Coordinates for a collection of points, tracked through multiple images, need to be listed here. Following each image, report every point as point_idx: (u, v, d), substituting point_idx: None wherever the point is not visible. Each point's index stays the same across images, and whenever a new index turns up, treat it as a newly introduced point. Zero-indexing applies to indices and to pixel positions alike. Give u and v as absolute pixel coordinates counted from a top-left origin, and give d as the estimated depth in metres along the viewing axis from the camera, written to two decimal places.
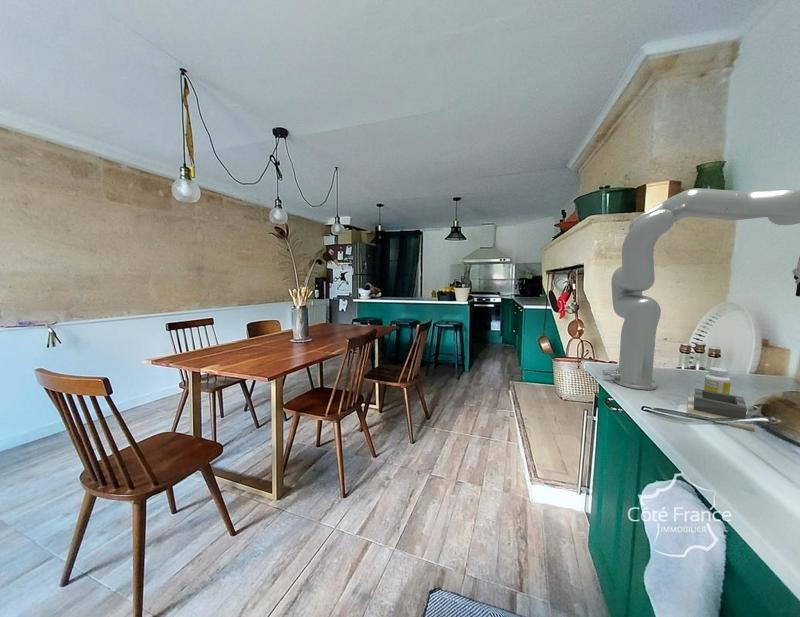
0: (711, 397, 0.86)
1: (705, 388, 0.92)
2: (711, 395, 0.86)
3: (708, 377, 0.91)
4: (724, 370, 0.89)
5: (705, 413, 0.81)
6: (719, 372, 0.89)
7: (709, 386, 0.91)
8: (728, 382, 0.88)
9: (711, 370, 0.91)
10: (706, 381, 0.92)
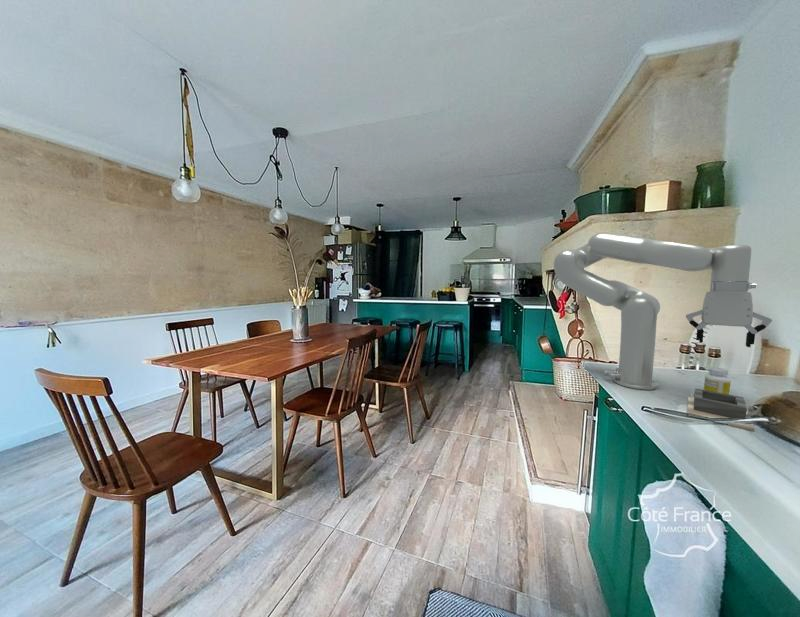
0: (711, 397, 0.86)
1: (705, 388, 0.92)
2: (711, 395, 0.86)
3: (708, 377, 0.91)
4: (724, 370, 0.89)
5: (705, 413, 0.81)
6: (719, 372, 0.89)
7: (709, 386, 0.91)
8: (728, 382, 0.88)
9: (711, 370, 0.91)
10: (706, 381, 0.92)
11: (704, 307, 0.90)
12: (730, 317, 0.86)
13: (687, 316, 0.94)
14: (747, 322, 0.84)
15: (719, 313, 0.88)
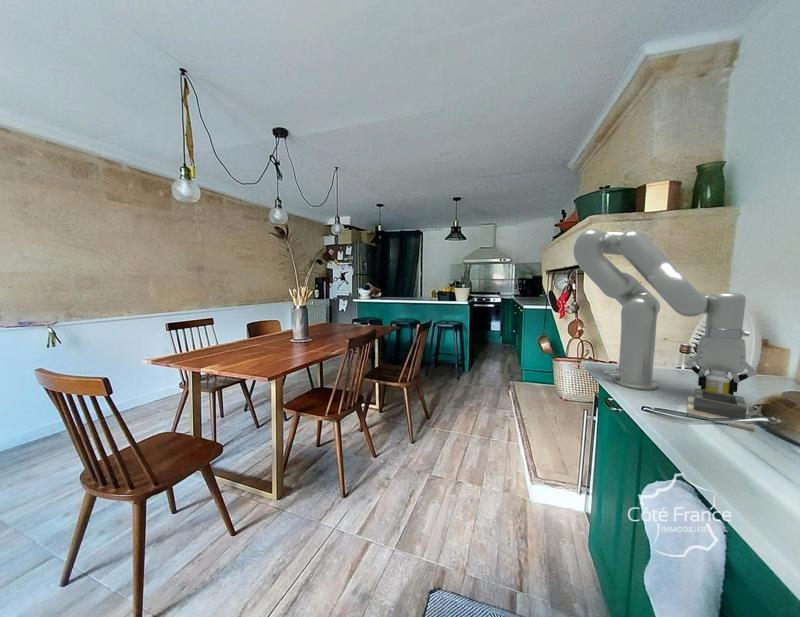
0: (711, 397, 0.86)
1: (705, 388, 0.92)
2: (711, 395, 0.86)
3: (708, 377, 0.91)
4: None
5: (705, 413, 0.81)
6: (719, 372, 0.89)
7: (709, 386, 0.91)
8: (728, 382, 0.88)
9: (711, 370, 0.91)
10: (706, 381, 0.92)
11: (698, 351, 0.92)
12: (724, 363, 0.88)
13: (686, 363, 0.95)
14: (740, 369, 0.86)
15: (713, 358, 0.89)
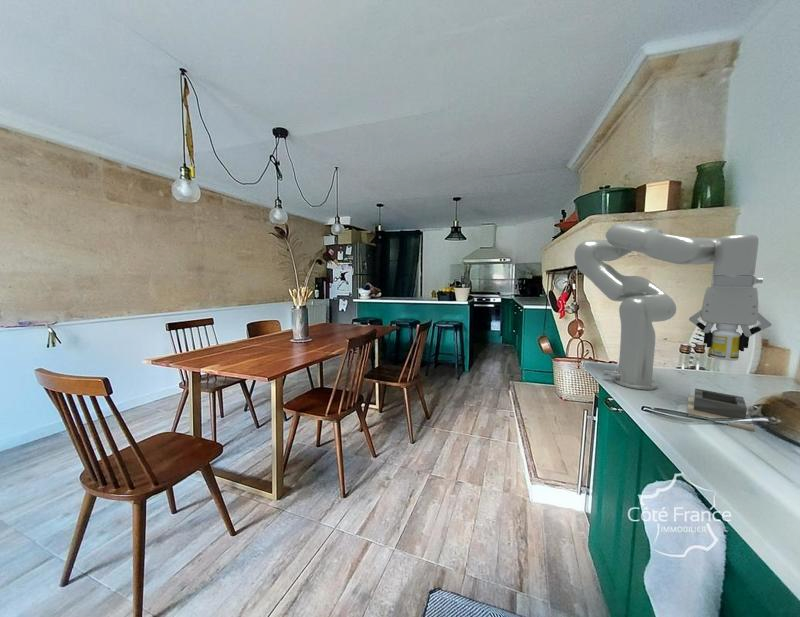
0: (711, 397, 0.86)
1: (712, 345, 0.82)
2: (711, 395, 0.86)
3: (715, 333, 0.81)
4: None
5: (705, 413, 0.81)
6: (728, 326, 0.79)
7: (717, 343, 0.80)
8: (738, 337, 0.78)
9: (719, 325, 0.80)
10: (713, 337, 0.81)
11: (704, 304, 0.82)
12: (733, 315, 0.78)
13: (691, 319, 0.85)
14: (752, 321, 0.76)
15: (720, 311, 0.79)
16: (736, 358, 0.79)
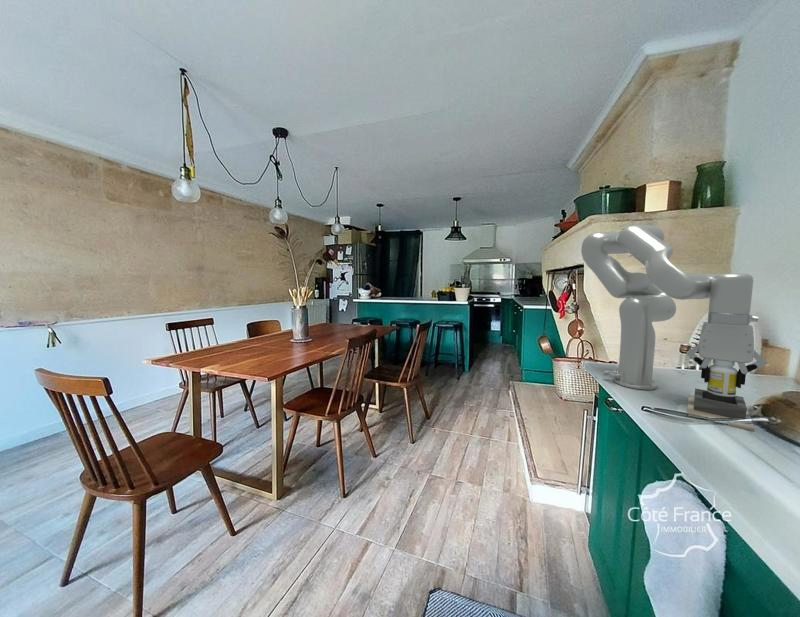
0: (711, 397, 0.86)
1: (709, 381, 0.83)
2: (711, 395, 0.86)
3: (712, 368, 0.82)
4: None
5: (705, 413, 0.81)
6: (725, 362, 0.80)
7: (714, 378, 0.81)
8: (735, 373, 0.79)
9: (716, 360, 0.81)
10: (710, 373, 0.82)
11: (701, 339, 0.83)
12: (730, 352, 0.79)
13: (688, 354, 0.86)
14: (748, 359, 0.77)
15: (717, 347, 0.80)
16: (733, 394, 0.79)
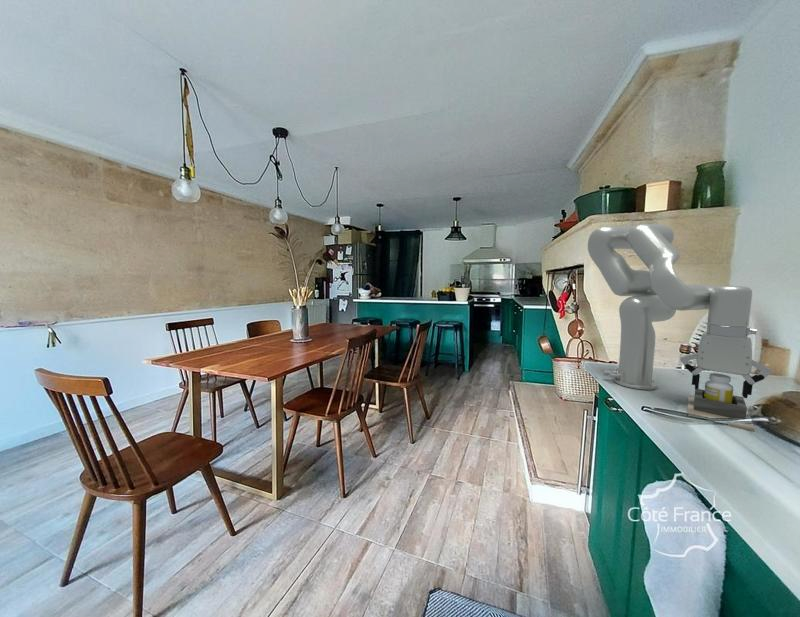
0: None
1: (705, 396, 0.84)
2: None
3: (709, 384, 0.83)
4: (726, 377, 0.81)
5: (705, 413, 0.81)
6: (721, 379, 0.81)
7: (710, 394, 0.82)
8: (731, 390, 0.80)
9: (712, 376, 0.82)
10: (706, 388, 0.83)
11: (700, 351, 0.83)
12: (728, 364, 0.79)
13: (682, 359, 0.87)
14: (746, 371, 0.77)
15: (715, 359, 0.81)
16: None
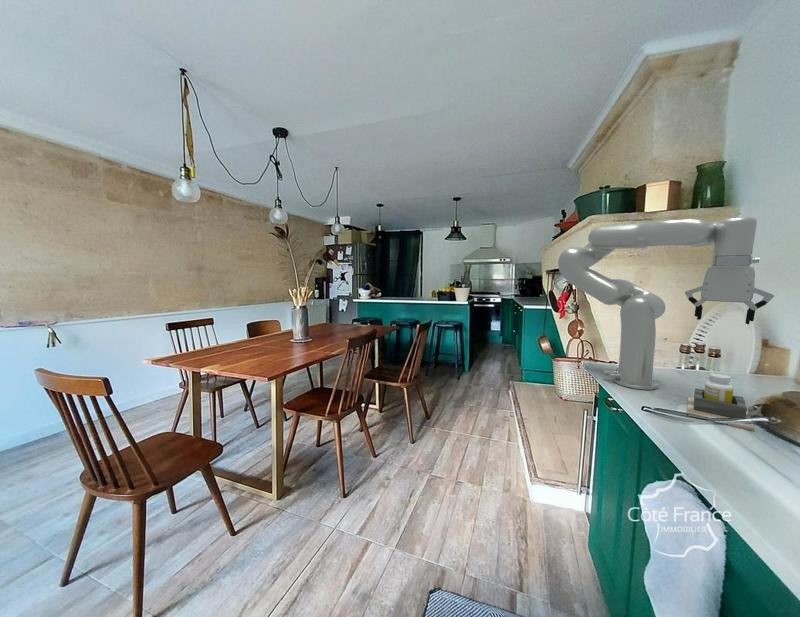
0: None
1: (705, 396, 0.84)
2: None
3: (708, 384, 0.83)
4: (726, 377, 0.81)
5: (705, 413, 0.81)
6: (721, 379, 0.81)
7: (710, 394, 0.82)
8: (731, 390, 0.80)
9: (712, 376, 0.82)
10: (706, 389, 0.83)
11: (704, 283, 0.88)
12: (730, 292, 0.84)
13: (686, 292, 0.91)
14: (747, 298, 0.81)
15: (718, 289, 0.85)
16: None
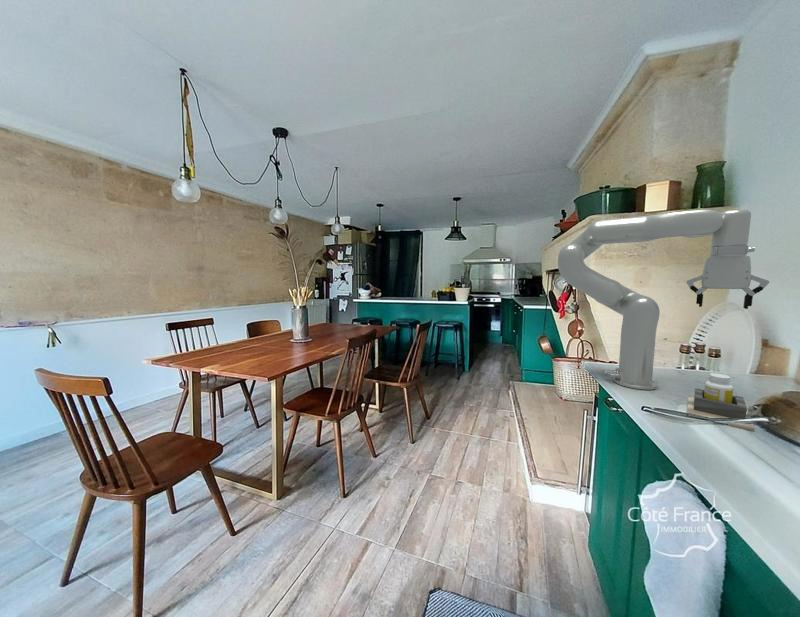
0: None
1: (705, 396, 0.84)
2: None
3: (708, 384, 0.83)
4: (726, 377, 0.81)
5: (705, 413, 0.81)
6: (721, 379, 0.81)
7: (710, 394, 0.82)
8: (730, 390, 0.80)
9: (712, 377, 0.82)
10: (706, 389, 0.83)
11: (704, 272, 0.93)
12: (729, 280, 0.90)
13: (688, 282, 0.97)
14: (745, 284, 0.87)
15: (718, 277, 0.91)
16: None
